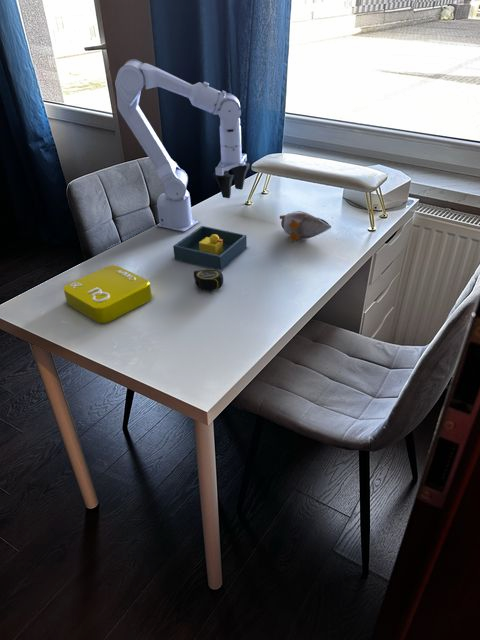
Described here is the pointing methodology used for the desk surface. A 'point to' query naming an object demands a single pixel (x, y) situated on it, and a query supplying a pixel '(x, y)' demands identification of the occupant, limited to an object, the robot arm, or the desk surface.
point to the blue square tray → (192, 254)
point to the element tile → (107, 293)
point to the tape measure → (208, 279)
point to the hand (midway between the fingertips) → (232, 193)
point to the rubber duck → (211, 245)
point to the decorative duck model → (302, 225)
